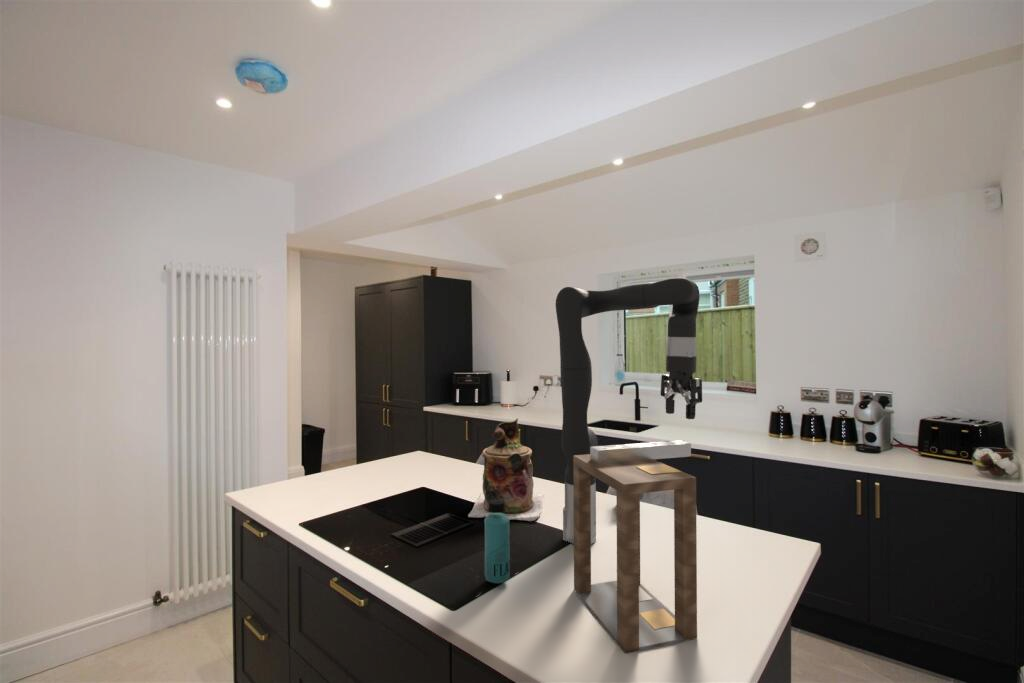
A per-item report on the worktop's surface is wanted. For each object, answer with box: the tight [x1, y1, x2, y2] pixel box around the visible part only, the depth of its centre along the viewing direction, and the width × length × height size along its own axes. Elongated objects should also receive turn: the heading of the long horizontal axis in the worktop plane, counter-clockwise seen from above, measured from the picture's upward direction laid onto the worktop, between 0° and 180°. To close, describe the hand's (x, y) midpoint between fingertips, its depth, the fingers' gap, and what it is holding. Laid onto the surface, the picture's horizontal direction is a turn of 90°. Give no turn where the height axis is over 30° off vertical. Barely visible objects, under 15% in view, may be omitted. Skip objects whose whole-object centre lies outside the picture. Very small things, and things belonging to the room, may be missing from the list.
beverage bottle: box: [483, 500, 511, 584], centre depth 116 cm, size 6×7×20 cm
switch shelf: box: [573, 454, 698, 654], centre depth 103 cm, size 16×24×32 cm, turn 16°
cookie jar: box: [467, 418, 545, 522], centre depth 168 cm, size 25×25×32 cm
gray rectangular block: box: [590, 439, 692, 464], centre depth 110 cm, size 24×4×3 cm, turn 106°
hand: (679, 416), depth 124 cm, fingers open, 8 cm apart
